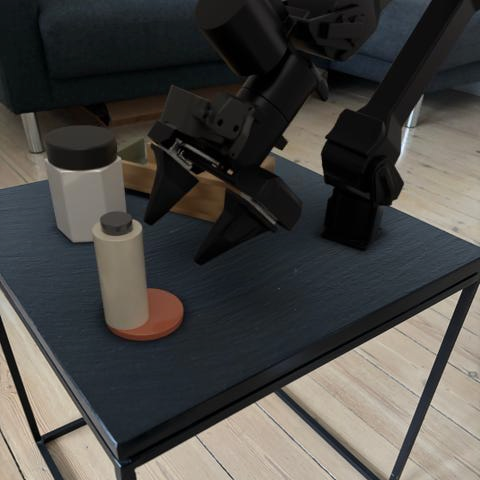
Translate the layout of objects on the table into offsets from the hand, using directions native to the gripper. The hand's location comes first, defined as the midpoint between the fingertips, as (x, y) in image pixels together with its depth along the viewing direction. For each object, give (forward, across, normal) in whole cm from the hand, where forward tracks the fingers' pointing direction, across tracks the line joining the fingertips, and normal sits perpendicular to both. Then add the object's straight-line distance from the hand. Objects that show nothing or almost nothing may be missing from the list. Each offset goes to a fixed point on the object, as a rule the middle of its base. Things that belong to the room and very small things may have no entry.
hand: (170, 242), depth 51 cm
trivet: (+8, 0, +3) cm, 8 cm away
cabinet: (-8, -18, +19) cm, 27 cm away
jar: (+5, -20, +6) cm, 22 cm away
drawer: (-4, -28, +14) cm, 31 cm away
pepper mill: (+9, 0, +1) cm, 9 cm away
